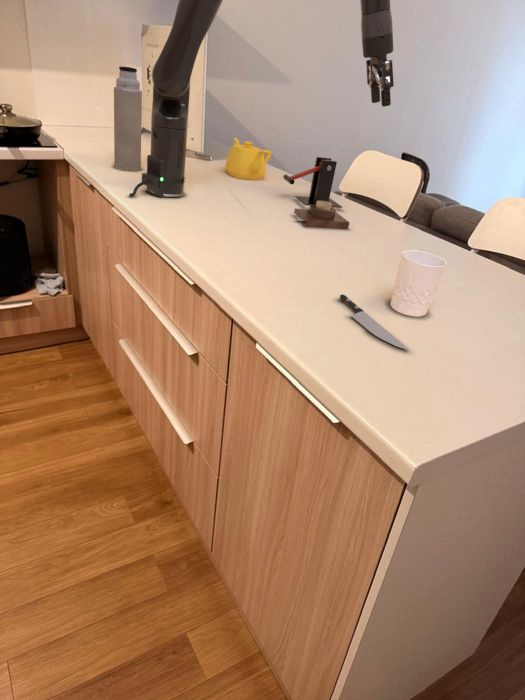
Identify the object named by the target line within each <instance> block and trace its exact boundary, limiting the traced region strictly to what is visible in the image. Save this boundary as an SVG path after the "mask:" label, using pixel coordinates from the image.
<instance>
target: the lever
mask: <svg viewBox="0 0 525 700" xmlns="http://www.w3.org/2000/svg"><path fill="white" fill-rule="evenodd" d="M327 160H328V159H327ZM329 161H330V160H329ZM320 166H321V162H319V166H317V167H315V166H313V167H312V168H309V169H307V170H304V171H301V172H298V173H296V174H293V175H290V176H289V175H288V174H286V173H285V174H284V175H283V177H282V178H283V179H284V180H285V181H286V182H287V183H288V184H290V185H292V186H293V185H294V184H295V182H296V180H297V179H298V180H299V179H300V178H303V177H306V176H308V175H311V174H314V172H316V171H319V170H320Z"/></svg>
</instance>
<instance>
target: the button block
mask: <svg viewBox="0 0 525 700" xmlns="http://www.w3.org/2000/svg"><path fill="white" fill-rule="evenodd" d="M293 213H294V214H296V215H297V216H298V217H299V219H301V220H299V222H300V223H301V224H302V225H303V226H304V227H305V228H312V229H313V228H314V229H330V230H331V229H332V230H349V226H350V221H349V220H347V219H346V218H344V217H343V216H342V215H341V214H339V213H338V212H337V209H336V207H331V210H321V209H318V208H316V204H311V206H309V209H308V208H296V207H295V208H294V211H293Z"/></svg>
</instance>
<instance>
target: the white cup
mask: <svg viewBox="0 0 525 700" xmlns="http://www.w3.org/2000/svg"><path fill="white" fill-rule="evenodd" d="M447 265H448V263H447V261H446V260H445V258H442V257H441V256H439V255H436V254H434V253H430V252H428V251H423V250H416V249H407V250H403V251H402V252H401V255H400V259H399V264H398V267H397V272H396V276H395V280H394V284H393V289H392V296H391V300H390V303H389V304H390V307H391V308H392V309H393V310H394V311H396V312H398V314H399V313H400V314H402V315H405V316H409V317H418V318H419V317H424V316H425V315H427V313H428V310H429V308H430V305H431V302H432V301H433V300H434V297H435V295H436V292H437V290H438V287H439V285H440V283H441V280H442V277H443V274H444V272H445V270H446V267H447Z"/></svg>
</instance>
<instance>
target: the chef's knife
mask: <svg viewBox="0 0 525 700" xmlns="http://www.w3.org/2000/svg"><path fill="white" fill-rule="evenodd" d="M339 299H340V301H342V302H344V303H346V304H347V305H348V306H349V307H350V308H351V309H352V310H353V311H354V312H355V313H354V314H352V315H351V317H352V318H353V320H355V321H356V322H358V323H359V324H360V325H361V326H363V328H364V329H366V330H367V331H368V332H370V333H371V334H372V335H374V336H375V337H377V338H379V339H381V340H383V341H385V342H386V343H388V344H391V345H393V346H395V347H398V348H400V349H404V350H407V351H408V348H407V347H406V346H405V345H404V344H403V343H402V342H401V341H400V340H399V339H397V338H396V337H395V336H393V334H391V332H389V331H388V330H387V329H386V328H384V327H383V326H382V325H381V324H379V322H377V321H376V319H374V318H372V316H370V315H369V314H368V313H366V311H364V310H363V309H362V308H361V307H359V306H358V305H357V304H356V303H355V302H354V301H352V300H351V299H350V298H349V297H348V296H347V295H346V294H344V293H343V294H342V293H341V294H340V295H339Z"/></svg>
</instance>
